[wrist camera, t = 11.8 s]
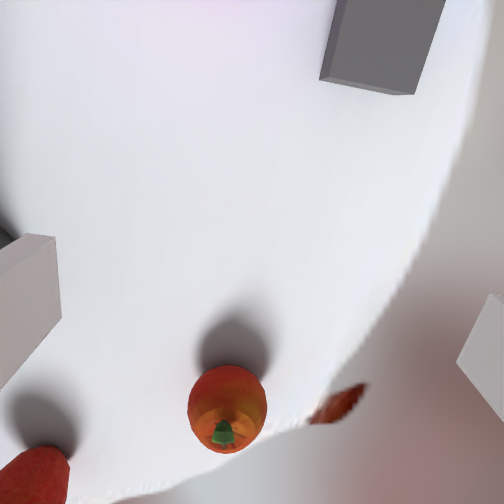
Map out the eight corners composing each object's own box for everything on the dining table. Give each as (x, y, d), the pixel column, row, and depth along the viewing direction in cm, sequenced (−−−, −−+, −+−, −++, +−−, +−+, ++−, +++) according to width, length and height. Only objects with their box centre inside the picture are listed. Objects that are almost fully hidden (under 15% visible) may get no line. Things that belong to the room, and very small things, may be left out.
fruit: (194, 406, 47) (180, 480, 38) (192, 350, 44) (175, 417, 34) (264, 408, 48) (266, 482, 38) (268, 353, 44) (271, 420, 35)
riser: (319, 80, 31) (328, 77, 27) (340, -14, 28) (355, -33, 24) (393, 95, 32) (414, 94, 28) (422, 4, 29) (449, -12, 25)
